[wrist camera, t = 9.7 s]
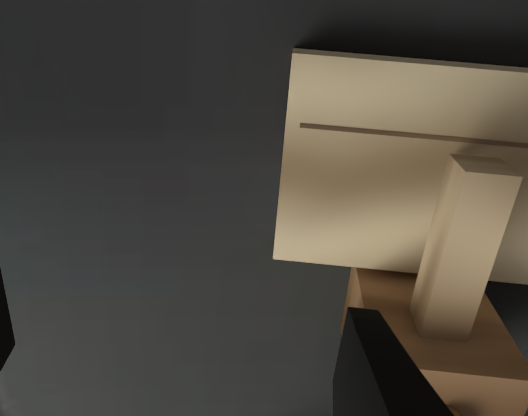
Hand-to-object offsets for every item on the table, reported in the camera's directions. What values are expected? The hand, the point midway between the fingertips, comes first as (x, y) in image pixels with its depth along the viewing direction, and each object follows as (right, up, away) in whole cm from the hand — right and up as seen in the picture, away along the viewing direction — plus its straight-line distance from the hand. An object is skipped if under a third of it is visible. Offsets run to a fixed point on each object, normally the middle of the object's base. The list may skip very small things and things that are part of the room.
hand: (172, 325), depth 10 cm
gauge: (+8, 0, +10) cm, 13 cm away
